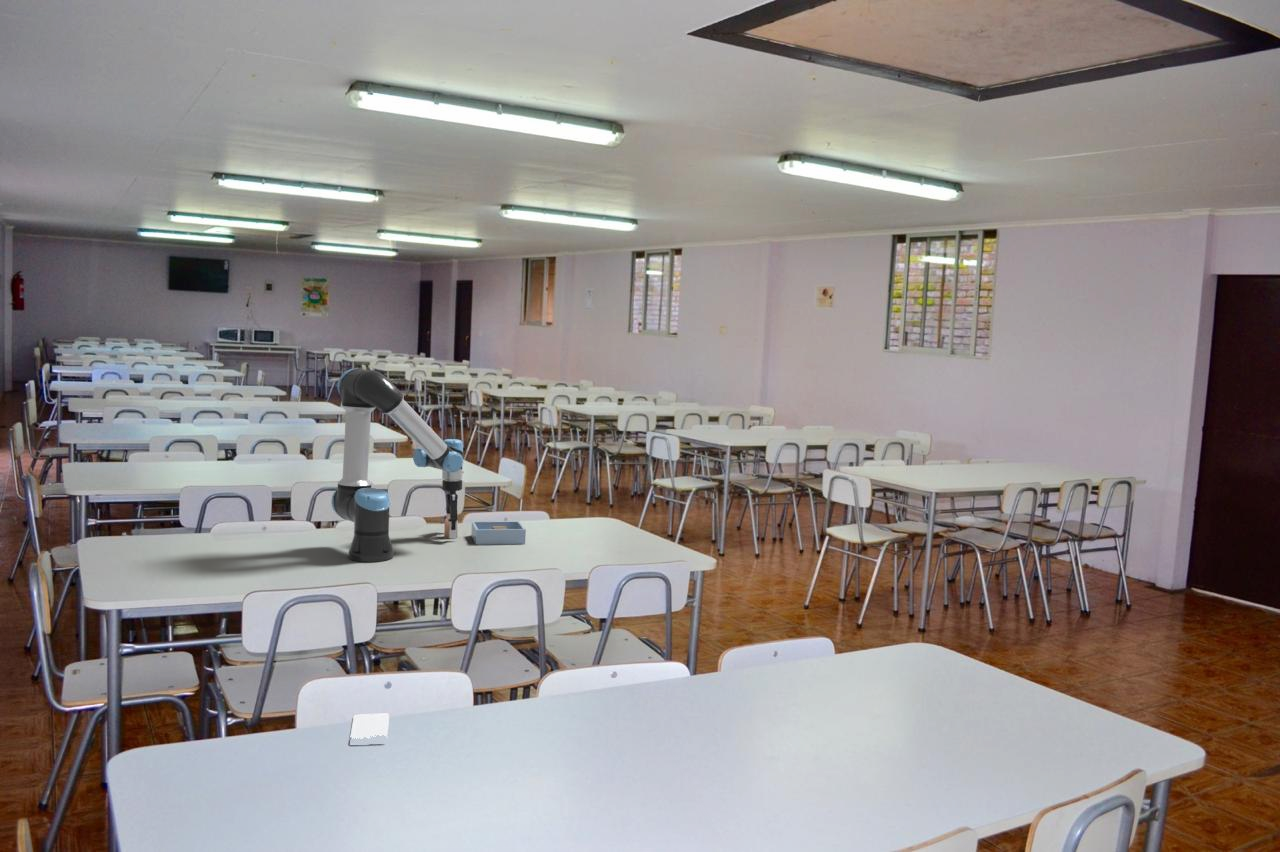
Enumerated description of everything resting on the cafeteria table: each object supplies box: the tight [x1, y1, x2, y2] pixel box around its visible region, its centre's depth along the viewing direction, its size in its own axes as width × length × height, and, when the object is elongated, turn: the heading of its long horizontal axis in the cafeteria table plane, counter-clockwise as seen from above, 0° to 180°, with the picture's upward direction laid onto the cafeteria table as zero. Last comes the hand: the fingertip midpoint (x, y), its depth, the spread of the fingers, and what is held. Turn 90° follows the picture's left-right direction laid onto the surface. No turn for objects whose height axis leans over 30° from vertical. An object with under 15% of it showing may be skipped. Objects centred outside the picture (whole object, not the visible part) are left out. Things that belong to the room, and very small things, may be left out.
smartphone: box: [349, 712, 390, 739], centre depth 202 cm, size 7×1×15 cm
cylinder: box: [443, 518, 459, 540], centre depth 382 cm, size 5×5×7 cm
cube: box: [492, 526, 507, 529], centre depth 378 cm, size 5×5×5 cm
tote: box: [470, 520, 527, 546], centre depth 381 cm, size 19×16×6 cm
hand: (451, 534), depth 382 cm, fingers open, 13 cm apart
